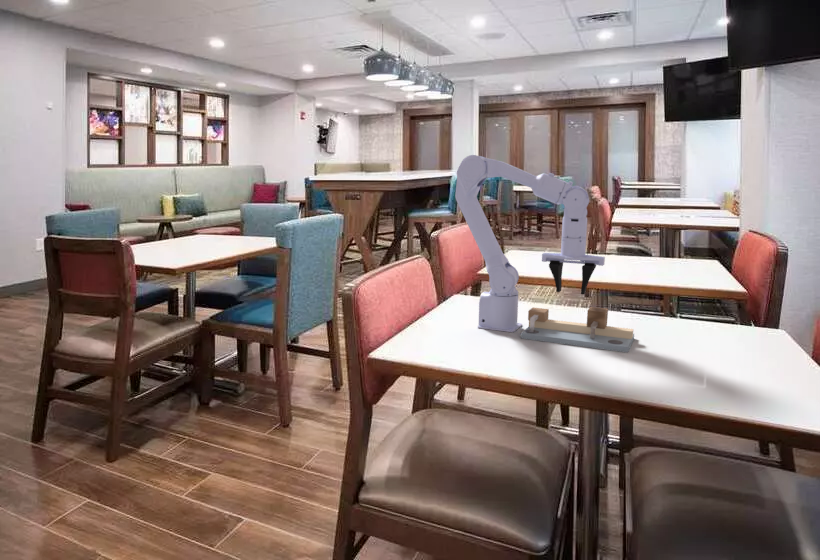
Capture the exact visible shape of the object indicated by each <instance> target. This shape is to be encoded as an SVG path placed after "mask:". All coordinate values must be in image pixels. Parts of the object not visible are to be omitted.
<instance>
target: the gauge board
mask: <svg viewBox="0 0 820 560" xmlns="http://www.w3.org/2000/svg"><path fill="white" fill-rule="evenodd" d="M527 314H528V315H527V320H528V327H527V328H525V329H524V330H523V331H522V332H521V333H520V339H525V340H532V341H539V342H546V343H553V344H561V345H569V346H576V347H583V348H585V347H586V348H593V349H599V350H607V351H615V352H620V353H621V352H622V353H628V352H629V350H630V348H631V346H632V344H633V341H634V339H635V333H634V328H628V327H627V328H625V327H619V326H618V327H617V326H609V325H607V326H606V327H605V329H600V328H595V339H591V338H590V333H591V327H587V323H582V322H576V321H575V322H574V321H566V320H565V321H564V320H558V319H557V320H556V319H549V308H540V307H532V308H530V309H529V310H528V313H527Z"/></svg>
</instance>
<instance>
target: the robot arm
mask: <svg viewBox="0 0 820 560" xmlns="http://www.w3.org/2000/svg"><path fill="white" fill-rule="evenodd" d="M457 168H458V169H457V170H456V186H455V201H456V203H457V206H458V207H459V210H460V212H461V213H462V216H463V217H464V219H465V222H466V225H467V226H468V228H469V230H470V232H471V235H472V237H473V239H474V241H475V243H476V245H477V247H478V249H479V252H480V253H481V256H482V258H483V260H484V262H485V267H486V272H487V274H488V277H489V281H488V282H489V288H490V290H489V291H483V292H482V293H481V294H480V297H479V302H478V325H477V328H478V329H484V330H491V331H499V332H506V333H507V332H508V333H515V332H516V331H517V330H519V328H521V326H523V323H521V322H518V313H519V312H518V311H519V310H518V309H519V291H518V290H517V288H516V285H517V283H518V282H519V279H520V275H519V272H518V270H517V269H516V267H514V266H513V265H512V263H510V261H509V259H508V258H507V256H506V255H505V254H504V253H503V250H502V248H501V246H500V243H499V242H498V240H497V238H496V235H495V234H494V231H493V230H492V227H491V225H490V222H489V220H488V219H487V216H486V214H485V212H484V210H483V208H482V206H481V204H480V202H479V200H478V195H479V191H480V190H481V187H482V185H483V183H485V181H486V180H487V179H488V178H489V179H490V178H497V177H498V178H503V179H506V180H509V181H511V182H514V183H516V184H519V185H523V186H525V187H527V188H529V189H531V190H532V193H533V195H534V196H536V197H538V198H540V199H542V200H546V201H548V202H550V203H552V204H555V205H562V206H564V209H563V211H564V212H563V217H562V220H561V222H562V225H561V226H562V227H561V241H560V243H561V245H560V253H559V252H556V253H555V252H554V253H552V252H551V253H550V252H543V253H542V254H541V262H543V263H545V262H546V263H547V262H549V263H548V267H549V270H550V272H551V274H552V278H553V280H554V283H555V291H556V293H560V292H561V291H562V275H563V267H564V263H565V264H578V265H579V264H581V265H582V266H581V272H582V273H581V277H582V279H581V289H580V294H581V295H585V294H586V293H587V289H588V284H589V281H590V279H591V277H592V274H593V272H594V271H595V269H596V267H597V266H599V267H600V266H602V267H603V266H604V265H605V261H606V257H605V256H598V255H593V254H592V255H590V254H586V249H587V236H588V235H587V231H588V217H587V216H588V209H587V208H588V205H589V203H590V199H589V198H590V197H589V194H588V191H587V190H586V189H585V188H583V187H581V186H580V185H573V184H574V182H573V181H571V180H569V181H566V180H563V179H560V178H558V177H555V174H554V173H552V172H548V173H545V172H543V173H541V174H540V173H539V174H538V175H536V174H533V173H530V172H528V171H526V170H524V169H520V168H519V167H516V166H515V165H511V164H509V163H507V162H505V161H502V160H498V159H493V158H488V157H485V156H482V155H476V154H470V155H467V156H466V157H464V158H463V159H462V161H461V162H460V164H459V166H458V167H457Z"/></svg>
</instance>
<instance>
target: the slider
mask: <svg viewBox="0 0 820 560" xmlns="http://www.w3.org/2000/svg"><path fill="white" fill-rule="evenodd" d="M608 314H609V308H607V307H606V308H604V307H596V306H595V307H594V306H590V307H589V308H588V309H587V314H586V315H587V317H586V324H587V327H591V333H590V338H591V339H595V328H600V329H605V327H606V326H608V316H609V315H608Z"/></svg>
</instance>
